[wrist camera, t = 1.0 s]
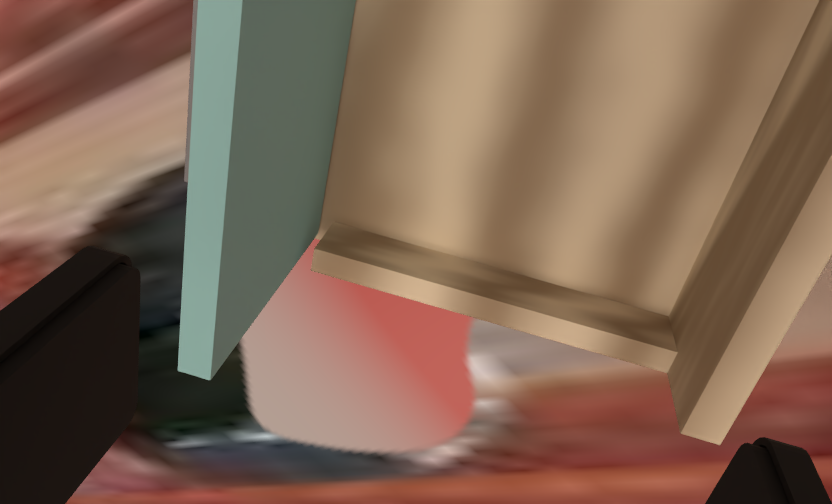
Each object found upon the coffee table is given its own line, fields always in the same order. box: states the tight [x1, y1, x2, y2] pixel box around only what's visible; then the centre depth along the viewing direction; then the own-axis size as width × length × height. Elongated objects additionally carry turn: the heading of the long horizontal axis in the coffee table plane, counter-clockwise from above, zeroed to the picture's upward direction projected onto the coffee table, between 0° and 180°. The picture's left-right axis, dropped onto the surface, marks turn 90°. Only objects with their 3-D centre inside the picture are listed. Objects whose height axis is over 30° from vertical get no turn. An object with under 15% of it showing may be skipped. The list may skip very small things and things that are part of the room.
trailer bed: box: [311, 0, 832, 445], centre depth 28 cm, size 20×20×10 cm
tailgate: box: [178, 0, 356, 380], centre depth 25 cm, size 2×19×12 cm, turn 168°
